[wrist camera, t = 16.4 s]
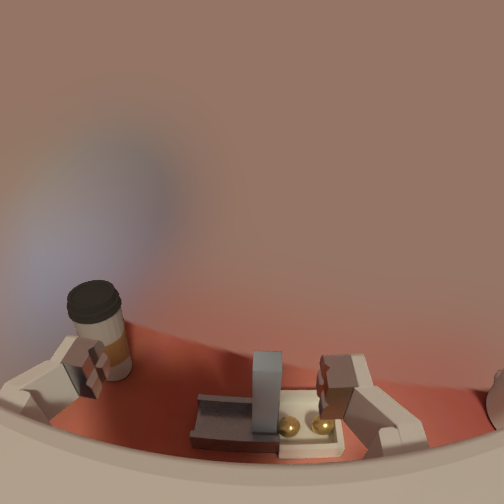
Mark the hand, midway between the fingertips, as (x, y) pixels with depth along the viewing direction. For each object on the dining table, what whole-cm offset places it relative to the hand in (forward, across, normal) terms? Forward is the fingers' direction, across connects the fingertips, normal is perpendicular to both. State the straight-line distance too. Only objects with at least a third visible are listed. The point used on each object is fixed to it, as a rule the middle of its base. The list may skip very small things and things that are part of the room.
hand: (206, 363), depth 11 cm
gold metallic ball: (+16, -10, +30) cm, 35 cm away
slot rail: (+16, +1, +30) cm, 34 cm away
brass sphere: (+16, -7, +29) cm, 34 cm away
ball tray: (+17, -8, +30) cm, 35 cm away
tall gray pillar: (+16, -3, +29) cm, 33 cm away
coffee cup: (+25, +22, +30) cm, 45 cm away
